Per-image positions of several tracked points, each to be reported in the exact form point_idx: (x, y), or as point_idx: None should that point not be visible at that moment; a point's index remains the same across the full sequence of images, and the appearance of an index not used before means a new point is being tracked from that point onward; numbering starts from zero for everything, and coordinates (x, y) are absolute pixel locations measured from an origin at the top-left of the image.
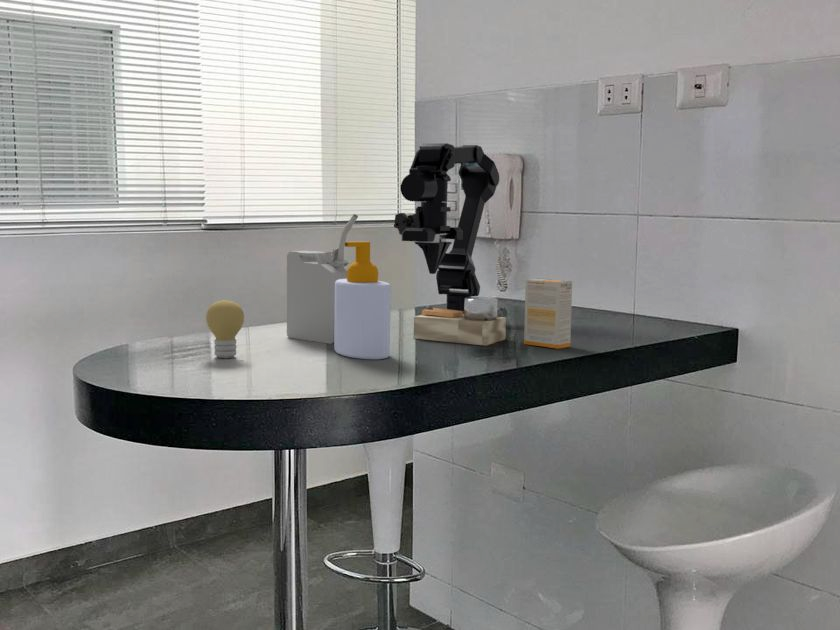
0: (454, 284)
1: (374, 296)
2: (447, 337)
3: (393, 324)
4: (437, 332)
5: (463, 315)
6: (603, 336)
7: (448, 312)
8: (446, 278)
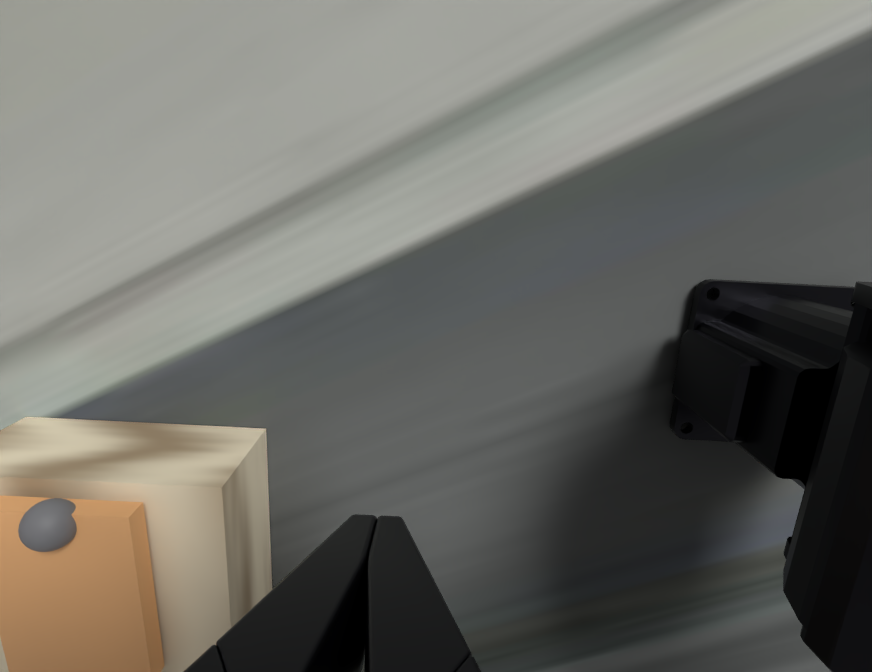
0: (804, 505)
1: None
2: None
3: (429, 80)
4: None
5: (167, 664)
6: None
7: (29, 649)
8: (846, 462)
